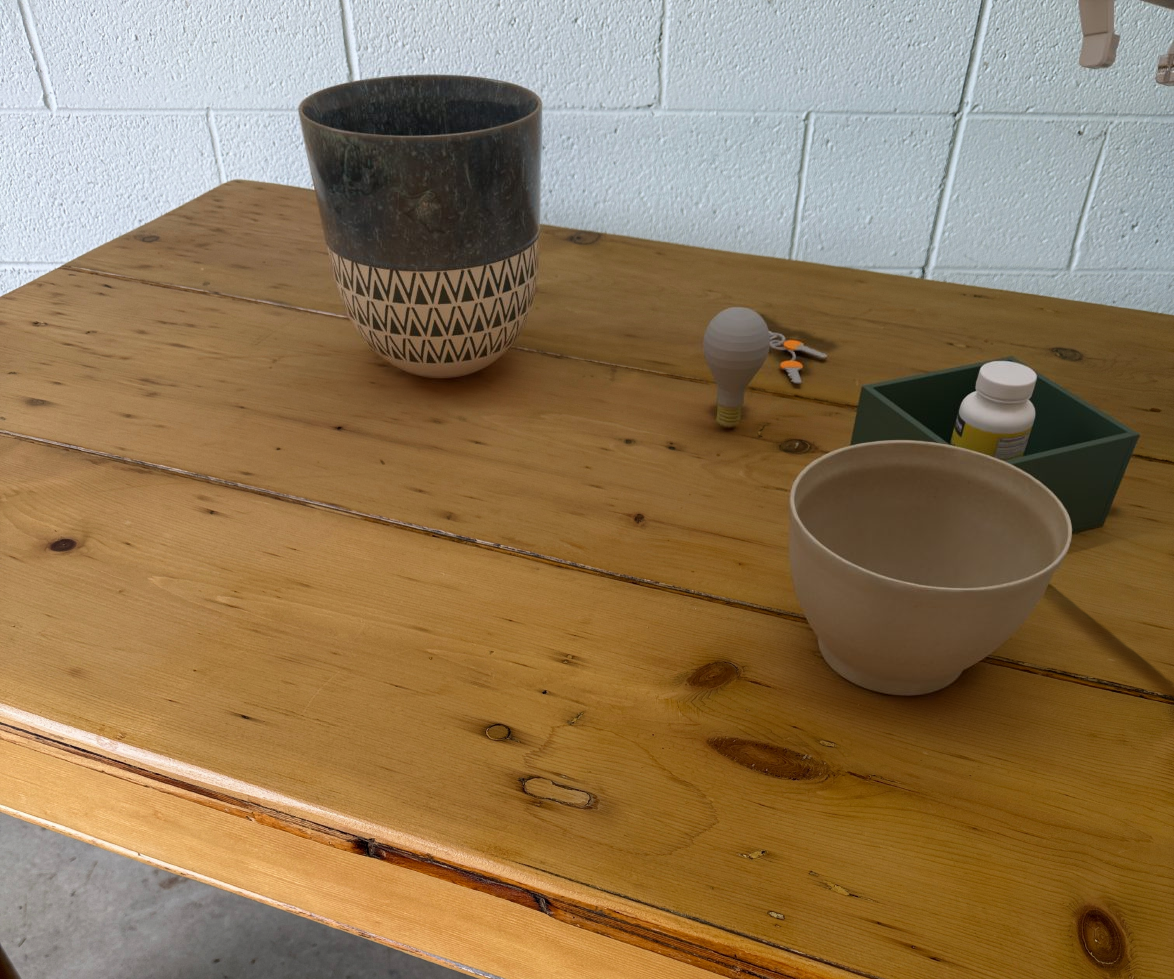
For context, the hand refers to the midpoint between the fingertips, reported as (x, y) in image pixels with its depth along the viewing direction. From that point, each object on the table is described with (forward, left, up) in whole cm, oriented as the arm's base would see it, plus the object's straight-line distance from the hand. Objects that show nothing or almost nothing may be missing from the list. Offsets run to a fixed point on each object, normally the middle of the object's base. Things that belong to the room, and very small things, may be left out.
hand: (1134, 76), depth 73 cm
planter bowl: (+29, +22, -26) cm, 45 cm away
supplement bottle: (+12, +9, -26) cm, 29 cm away
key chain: (+13, -21, -26) cm, 36 cm away
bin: (+12, +8, -26) cm, 30 cm away
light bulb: (+24, -10, -26) cm, 37 cm away
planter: (+43, -31, -26) cm, 59 cm away
